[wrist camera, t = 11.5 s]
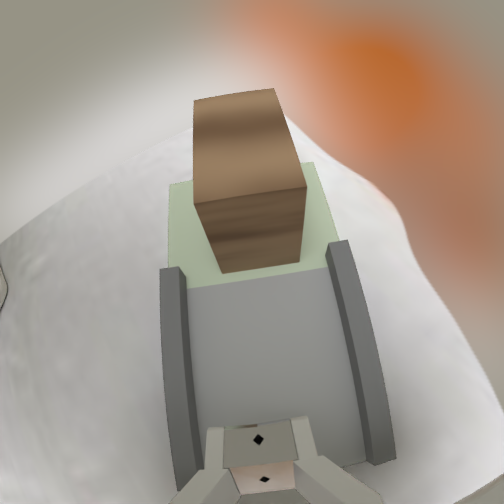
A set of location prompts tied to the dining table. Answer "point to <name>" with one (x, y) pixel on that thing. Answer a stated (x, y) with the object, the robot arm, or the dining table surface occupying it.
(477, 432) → the dining table surface
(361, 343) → the lane
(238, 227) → the walnut block
